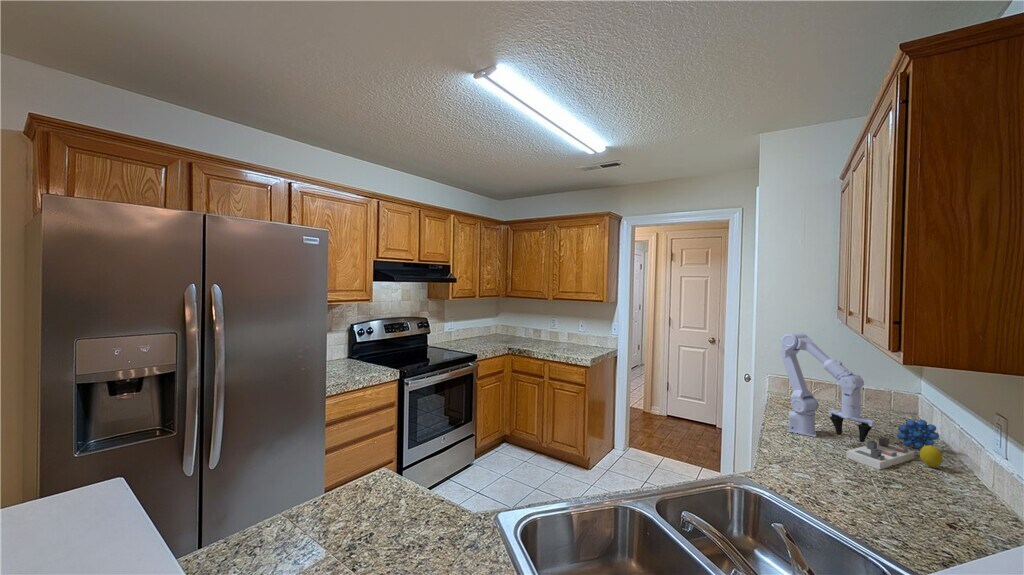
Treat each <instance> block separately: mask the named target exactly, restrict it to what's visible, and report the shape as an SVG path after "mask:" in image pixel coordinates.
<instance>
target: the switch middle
mask: <svg viewBox="0 0 1024 575" xmlns="http://www.w3.org/2000/svg"><path fill="white" fill-rule="evenodd" d="M877 442H878V441H875V440H873V439H872V440H867V441H866V445H867V448H870V449H877Z"/></svg>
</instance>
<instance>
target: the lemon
mask: <svg viewBox="0 0 1024 575" xmlns="http://www.w3.org/2000/svg"><path fill="white" fill-rule="evenodd" d="M919 456H920V460H921V461H922V462H923V463H924V464H926V465H927V466H928V467H929V468H934V467H939V466H941V465H942V463H943V461H944V460H943V458H944V457H943V454H942V451H940V449H938V448H937V447H936V446H934V445H933V446H932V445H929V446H925V445H924V447H922V448H921V449H919Z"/></svg>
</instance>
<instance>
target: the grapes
mask: <svg viewBox="0 0 1024 575" xmlns="http://www.w3.org/2000/svg"><path fill="white" fill-rule="evenodd" d="M904 423H905V424H900V425H899V426H898V427H897V429H898V431H899V432H897V434H896V437H897V438H898V439H899V440H902V443H903V445H904V446H906V447H912V446H913V447H914V448H915V449H917V450H921V448H922V447H924V446H929V445H932V446H933V447H934V445H935V441H934V440H938V439H939V438H940V434H939V433H938V432H936V430H937V427H936V425H934V424H931V423H930V424H928V422H927V421H926V420H924V419H918V420H917V421H915V420H913V419H908V420H906V421H905V422H904Z"/></svg>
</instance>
